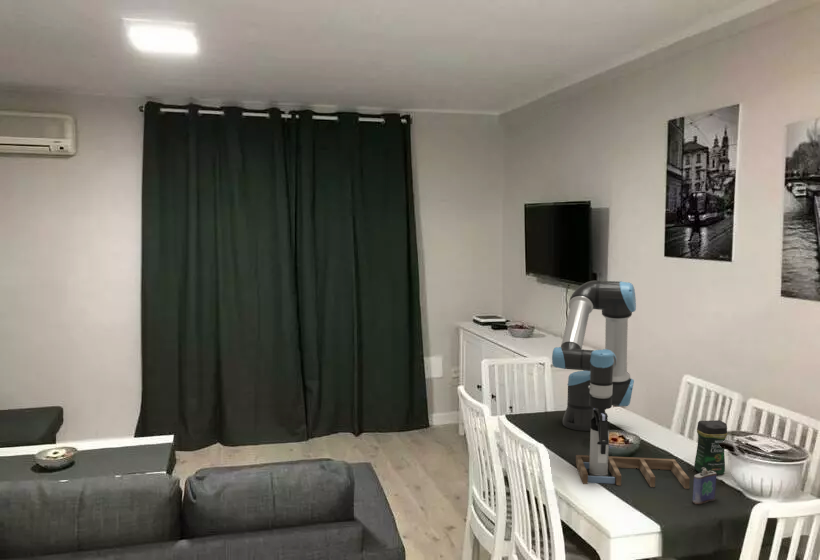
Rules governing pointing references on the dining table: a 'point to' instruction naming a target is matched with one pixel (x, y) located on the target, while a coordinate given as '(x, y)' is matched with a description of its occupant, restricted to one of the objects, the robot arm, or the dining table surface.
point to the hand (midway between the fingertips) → (598, 455)
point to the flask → (704, 486)
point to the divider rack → (638, 463)
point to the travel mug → (596, 453)
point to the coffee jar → (710, 446)
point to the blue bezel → (599, 477)
